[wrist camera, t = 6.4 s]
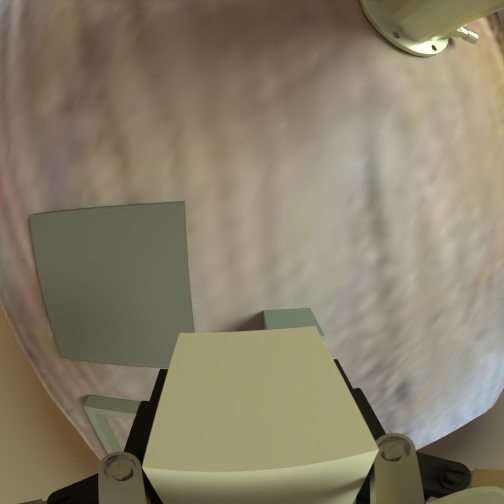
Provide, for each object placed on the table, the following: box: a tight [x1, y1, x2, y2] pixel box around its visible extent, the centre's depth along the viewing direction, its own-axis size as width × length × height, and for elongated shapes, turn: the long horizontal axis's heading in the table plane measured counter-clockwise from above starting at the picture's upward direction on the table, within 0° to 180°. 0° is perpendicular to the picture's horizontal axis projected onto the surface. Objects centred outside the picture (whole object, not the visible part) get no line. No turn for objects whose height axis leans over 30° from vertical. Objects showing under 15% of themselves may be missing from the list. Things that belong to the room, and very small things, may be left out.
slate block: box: [263, 308, 325, 341], centre depth 29 cm, size 5×5×6 cm
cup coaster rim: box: [84, 395, 141, 454], centre depth 35 cm, size 19×19×2 cm
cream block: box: [142, 326, 379, 504], centre depth 8 cm, size 5×5×6 cm
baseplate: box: [29, 201, 195, 368], centre depth 29 cm, size 18×18×2 cm
